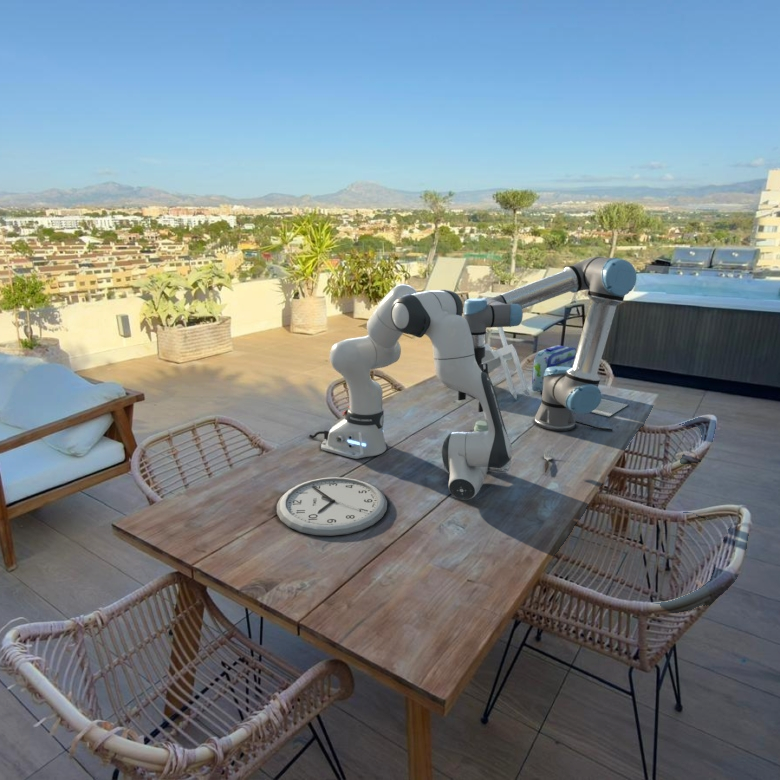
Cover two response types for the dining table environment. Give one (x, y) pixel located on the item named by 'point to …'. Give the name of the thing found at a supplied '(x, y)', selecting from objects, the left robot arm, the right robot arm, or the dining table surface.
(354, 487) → the wall clock
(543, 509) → the dining table surface
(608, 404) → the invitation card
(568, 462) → the dining table surface
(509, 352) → the white plastic object
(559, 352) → the lunch box
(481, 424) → the jar
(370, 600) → the dining table surface
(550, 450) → the fork
